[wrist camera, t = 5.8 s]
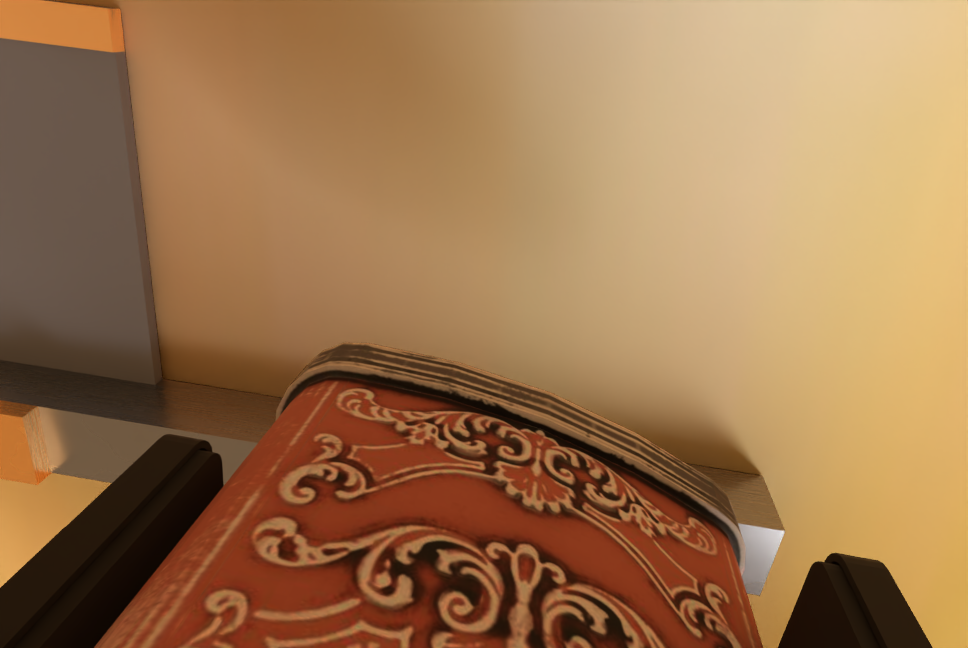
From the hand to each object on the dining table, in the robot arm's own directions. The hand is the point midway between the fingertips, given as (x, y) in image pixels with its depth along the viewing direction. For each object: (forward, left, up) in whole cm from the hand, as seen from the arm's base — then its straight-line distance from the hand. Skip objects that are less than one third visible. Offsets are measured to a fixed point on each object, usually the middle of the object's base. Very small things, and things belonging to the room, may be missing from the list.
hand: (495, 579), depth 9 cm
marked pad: (+14, -1, -10) cm, 18 cm away
